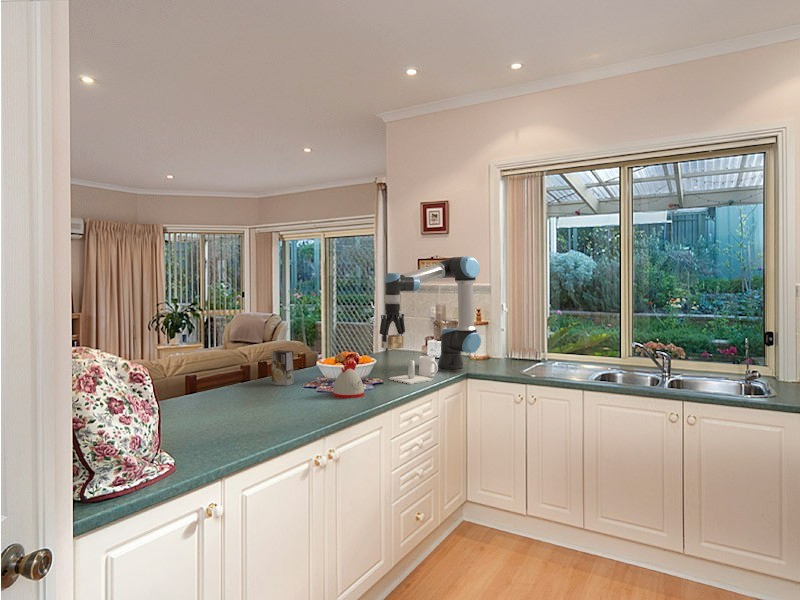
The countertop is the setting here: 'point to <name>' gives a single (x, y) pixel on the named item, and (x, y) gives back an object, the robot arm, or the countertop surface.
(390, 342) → the collar
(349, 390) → the kitchen timer
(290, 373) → the coffee box
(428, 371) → the mug
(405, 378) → the post stand
